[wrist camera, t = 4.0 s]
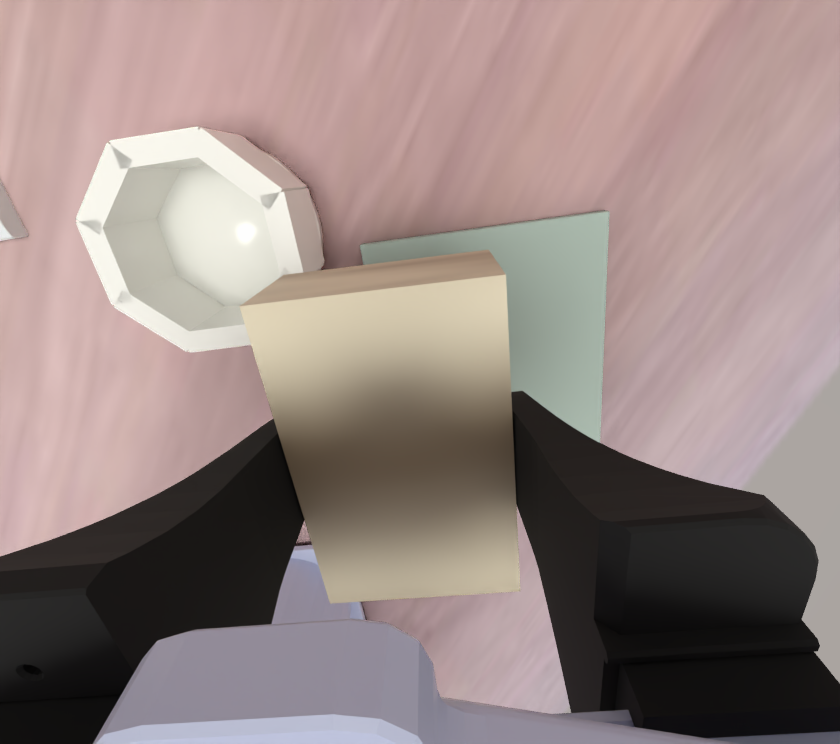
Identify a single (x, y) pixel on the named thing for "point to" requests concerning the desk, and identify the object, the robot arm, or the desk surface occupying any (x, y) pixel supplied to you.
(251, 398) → the desk surface
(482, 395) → the birch lid board
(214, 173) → the ceramic bowl
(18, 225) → the external hard drive
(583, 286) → the rubber mat
